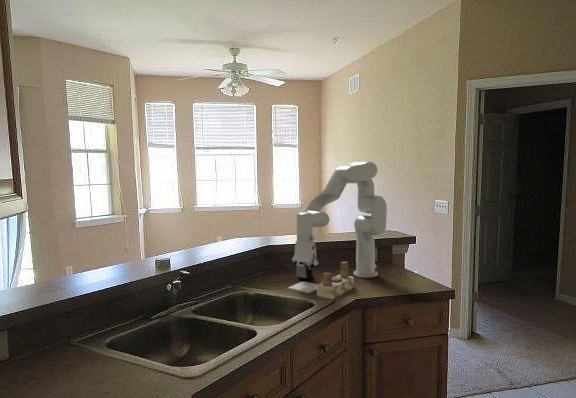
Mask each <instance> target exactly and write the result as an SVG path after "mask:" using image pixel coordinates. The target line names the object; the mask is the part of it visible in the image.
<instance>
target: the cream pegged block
mask: <svg viewBox="0 0 576 398" xmlns="http://www.w3.org/2000/svg"><path fill="white" fill-rule="evenodd" d="M317 284H318V285H317V290H316V296H317V297H321V298H326V299H330V300H333V299H335V298H337V297H340V296H341V295H343V294H345V293H346V292H348V291H350V290H352V289H353V288H355V277H354V276H349V261H341V262H340V274H337V275H335V276H333V274H332V273H331V272H323V273H322V282H319V283H317ZM344 292H345V293H344Z"/></svg>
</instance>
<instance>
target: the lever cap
mask: <svg viewBox="0 0 576 398" xmlns="http://www.w3.org/2000/svg"><path fill="white" fill-rule="evenodd" d="M295 266H296V265H295ZM295 269H296V273H295V274H296V277H297V278H298V277H302V278H307V277H308V269H309V268H308V264H307V263H304V264H299V265H298V266H296V268H295Z"/></svg>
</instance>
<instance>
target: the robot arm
mask: <svg viewBox="0 0 576 398" xmlns="http://www.w3.org/2000/svg"><path fill="white" fill-rule="evenodd" d="M377 174H378V167H377V164H376V163H374V162H373V161H355V162H351V163H350V164H348V165H347V166H346V165H344V166H338V167H337V168H335V169H334V171H333V172H332V175H331V177H330V178H329V180H328V182H327V184H326V185H325V187H324V189H323V190H322V191H321V192H319V194H317V195H316V196H315V197H314V198H313V199H312V200H311V201H310V202H309V204H308V206H307V207H306V209H305V211H304V212H303V211H302V212H301V211H300V212H298V213H297V215H296V241H295V244H294V255H293V257H292V258H291V260H292V262H293V263H294V264H295V266H298V265H299V264H302V262H304V263H307V264H308V268H309V269H308V278H310V277H312V275H313V276H314V268H315V267H316V266H317V265H319V260H318V259H317V248H316V243H315V241H314V240H315V239H316V238H315V236H313V235H314V232H313V231H314V230H313V228H325V227H326V226H328V225H329V223H330V217H329V214H328V213H326V212H324V211H322V209H323V208H325V206H326V205H330V204H331V203H334V202H336V201H338V200H339V199H340V198H341V196H342V193H343V192H344V189H345V188H346V186H347V184H356V185H357V208H358V210H359V212H360V213H363V214H364V215H359V216H357V217H356V218H355V221H354V223H353V225H354V226H353V227H354V232H355V241H356V242H355V243H356V245H355V246H356V247H355V248H356V249H355V250H356V251H355V252H356V254H355V255H356V261H355V262H356V264H355V265H356V266H355V267H356V269H355V270H354V271H353V276H355V277H359V278H367V279H368V278H375V277H377V276H378V274H379V273H378V271H376V269H375V268H377V266H378V265H377V264H376V263H375V262H376V261H375V259H376V258H375V257H376V256H375V255H376V254H375V252H376V249H375V247H376V246H375V244H376V243H375V242H376V241H375V237H374V236H376V237H378V236H382V235H383V234H384V233H385V231H386V229H387V210H388V206H387V202H386V200H385V198H384V197H382V196H380V195H375V184H374V180H373V179H374V178H375V177H376V175H377ZM365 214H370V215H365Z"/></svg>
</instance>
